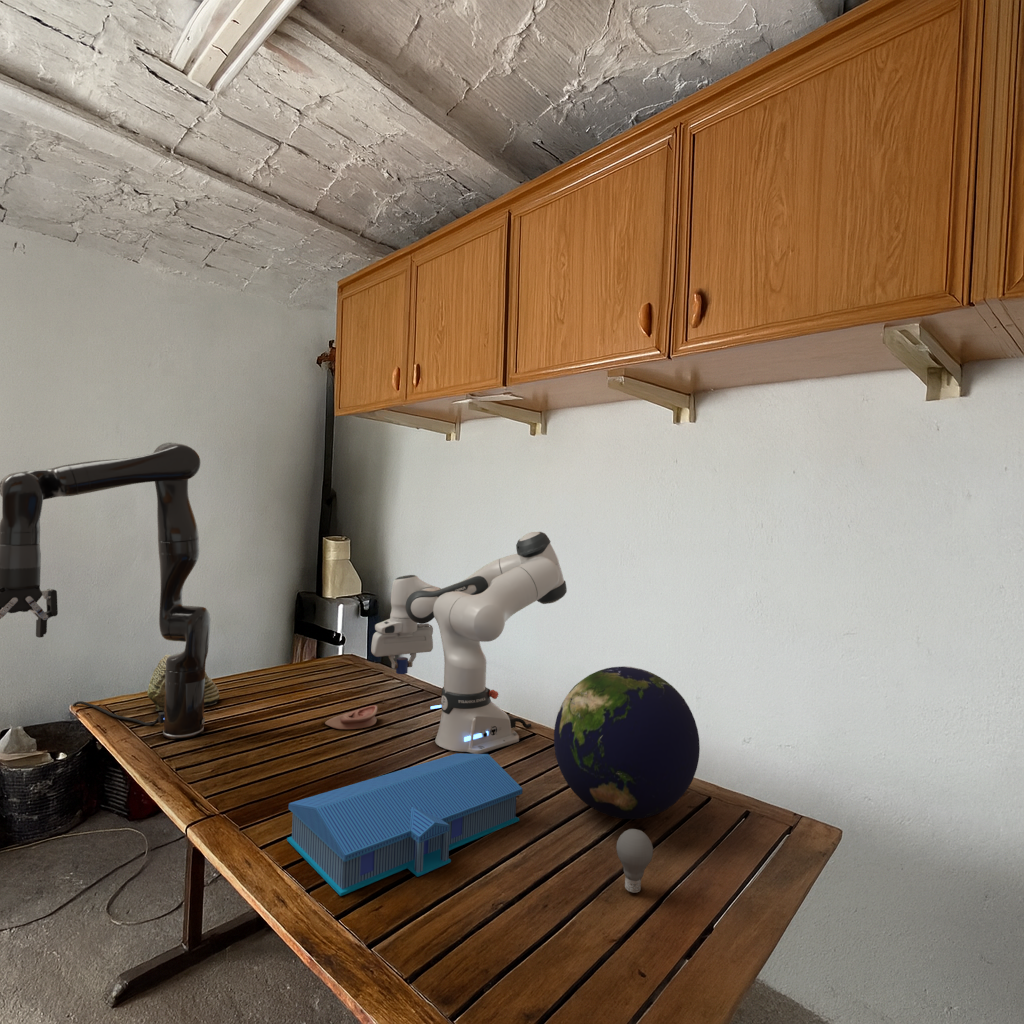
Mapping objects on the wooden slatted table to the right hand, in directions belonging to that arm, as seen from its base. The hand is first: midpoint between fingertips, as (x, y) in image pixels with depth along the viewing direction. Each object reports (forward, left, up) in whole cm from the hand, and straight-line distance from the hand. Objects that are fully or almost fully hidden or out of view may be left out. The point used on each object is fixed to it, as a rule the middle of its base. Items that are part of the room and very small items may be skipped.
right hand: (401, 667), depth 205 cm
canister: (0, 0, -2) cm, 2 cm away
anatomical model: (+22, +19, -9) cm, 31 cm away
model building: (+31, +81, -9) cm, 87 cm away
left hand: (+97, +19, +21) cm, 101 cm away
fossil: (+62, -15, -9) cm, 64 cm away
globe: (-11, +93, -9) cm, 94 cm away
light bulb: (+6, +114, -9) cm, 115 cm away
